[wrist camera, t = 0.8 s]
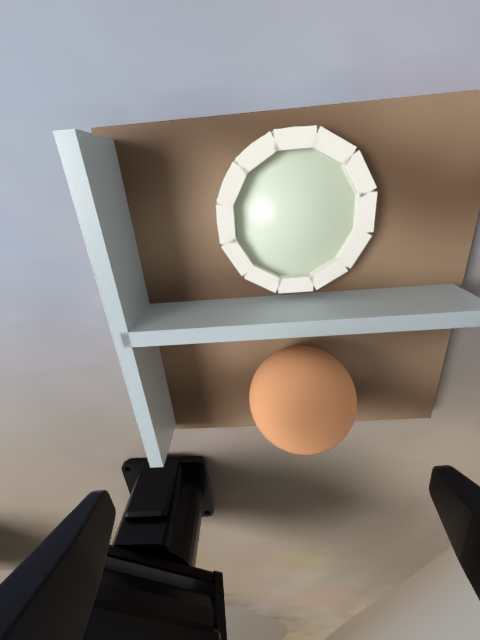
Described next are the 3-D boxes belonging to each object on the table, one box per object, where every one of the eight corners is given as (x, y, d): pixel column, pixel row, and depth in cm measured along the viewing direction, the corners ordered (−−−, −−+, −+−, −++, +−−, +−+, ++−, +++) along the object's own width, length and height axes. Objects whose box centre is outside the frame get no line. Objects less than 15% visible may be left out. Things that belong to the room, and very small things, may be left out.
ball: (337, 401, 20) (367, 478, 15) (251, 406, 20) (253, 482, 15) (342, 325, 18) (380, 385, 13) (245, 330, 18) (245, 391, 13)
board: (422, 407, 21) (464, 461, 17) (167, 419, 22) (150, 473, 18) (491, 92, 14) (593, 58, 10) (100, 130, 15) (44, 114, 11)
